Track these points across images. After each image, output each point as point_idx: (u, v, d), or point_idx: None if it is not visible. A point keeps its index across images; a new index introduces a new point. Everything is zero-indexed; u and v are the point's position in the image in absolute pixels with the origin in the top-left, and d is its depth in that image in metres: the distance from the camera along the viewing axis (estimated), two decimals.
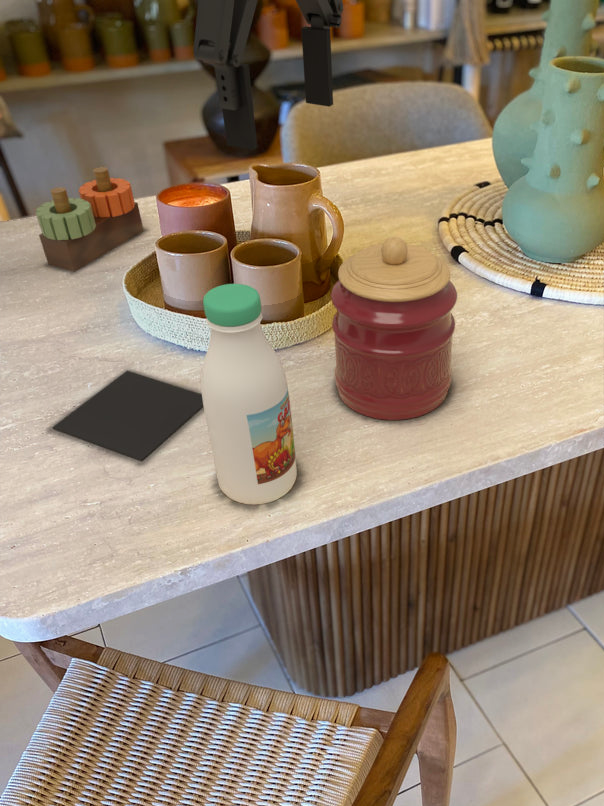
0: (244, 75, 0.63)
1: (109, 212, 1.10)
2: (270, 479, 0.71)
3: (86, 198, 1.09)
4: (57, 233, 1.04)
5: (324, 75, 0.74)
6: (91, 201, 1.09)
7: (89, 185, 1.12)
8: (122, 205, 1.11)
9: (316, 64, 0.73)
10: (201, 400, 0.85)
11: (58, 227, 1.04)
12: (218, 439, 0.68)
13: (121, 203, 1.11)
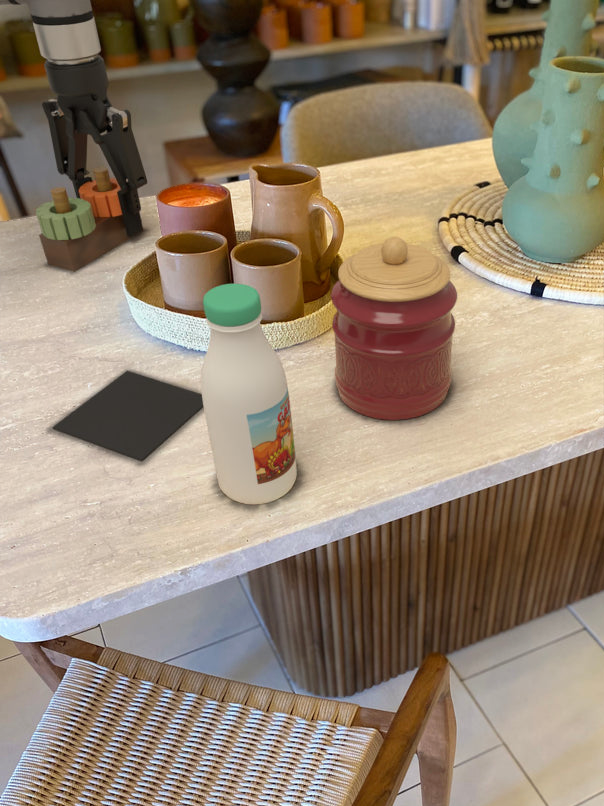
0: None
1: (109, 212, 1.10)
2: (270, 479, 0.71)
3: (86, 198, 1.09)
4: (57, 233, 1.04)
5: None
6: (91, 201, 1.09)
7: (89, 185, 1.12)
8: None
9: None
10: (201, 400, 0.85)
11: (58, 227, 1.04)
12: (218, 439, 0.68)
13: None
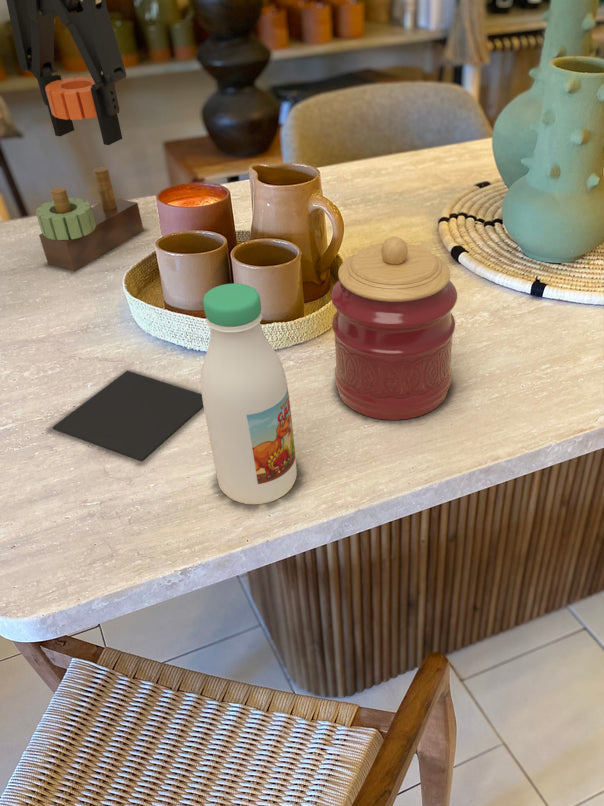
0: None
1: (82, 113, 0.94)
2: (270, 479, 0.71)
3: (54, 96, 0.92)
4: (57, 233, 1.04)
5: None
6: (59, 99, 0.92)
7: (58, 83, 0.95)
8: None
9: None
10: (201, 400, 0.85)
11: (58, 227, 1.04)
12: (218, 439, 0.68)
13: None
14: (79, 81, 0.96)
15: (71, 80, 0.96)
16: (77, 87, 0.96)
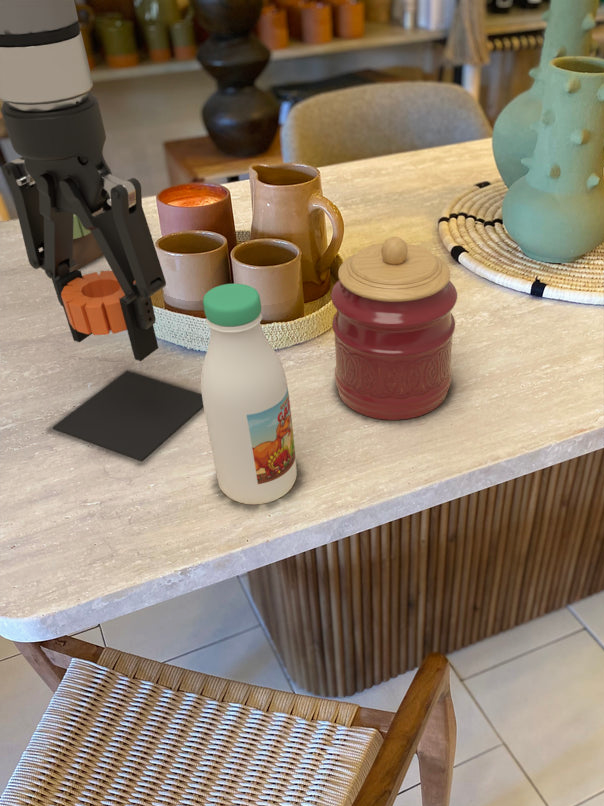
0: None
1: (108, 327, 0.72)
2: (270, 479, 0.71)
3: (72, 308, 0.71)
4: None
5: None
6: (80, 312, 0.71)
7: (77, 284, 0.74)
8: None
9: None
10: (201, 400, 0.85)
11: None
12: (218, 439, 0.68)
13: None
14: (105, 280, 0.75)
15: (95, 278, 0.75)
16: (102, 286, 0.75)
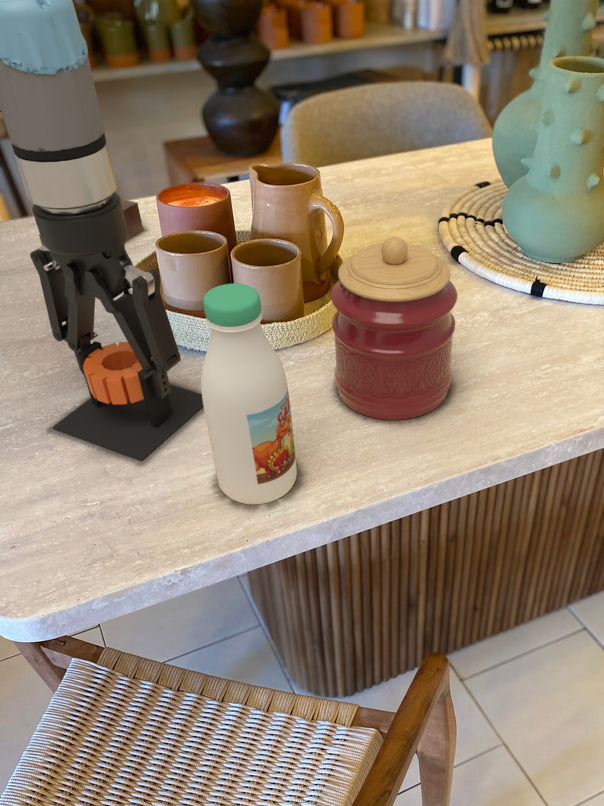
0: None
1: (126, 397, 0.78)
2: (270, 479, 0.71)
3: (94, 380, 0.77)
4: None
5: None
6: (100, 385, 0.77)
7: (98, 356, 0.79)
8: None
9: None
10: (201, 400, 0.85)
11: None
12: (218, 439, 0.68)
13: None
14: (123, 351, 0.80)
15: (114, 350, 0.80)
16: (120, 357, 0.81)
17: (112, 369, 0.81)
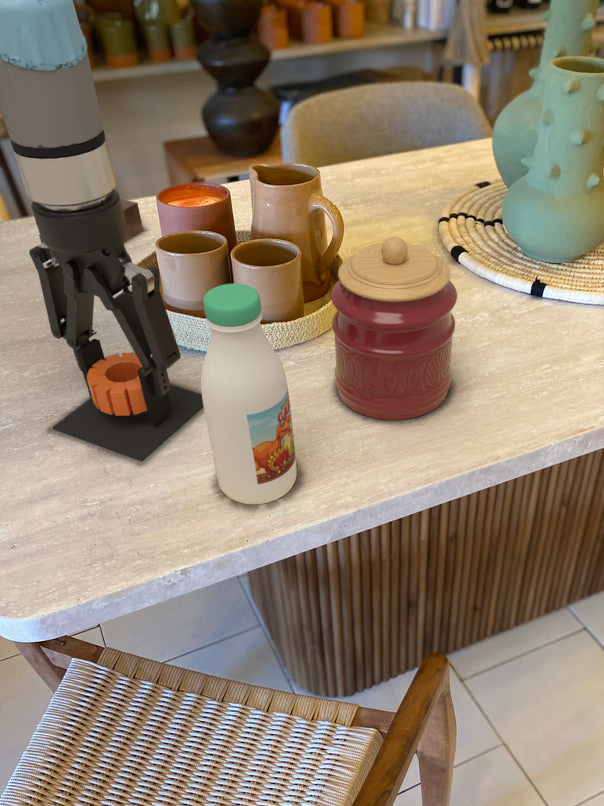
0: None
1: (129, 409, 0.79)
2: (270, 479, 0.71)
3: (97, 392, 0.78)
4: None
5: None
6: (104, 396, 0.78)
7: (101, 367, 0.80)
8: None
9: None
10: (201, 400, 0.85)
11: None
12: (218, 439, 0.68)
13: None
14: (126, 362, 0.81)
15: (117, 361, 0.81)
16: (124, 368, 0.81)
17: (115, 379, 0.82)
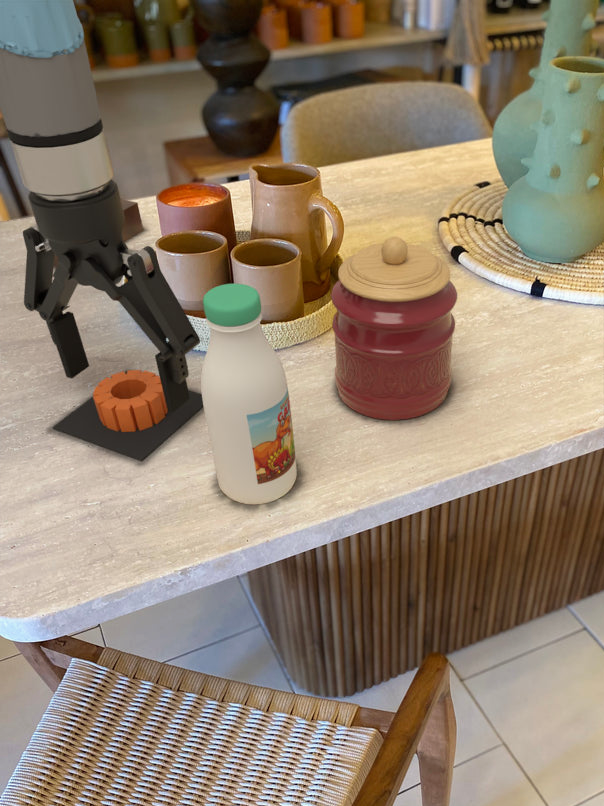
0: None
1: (135, 425, 0.80)
2: (270, 479, 0.71)
3: (103, 409, 0.79)
4: None
5: (79, 346, 0.82)
6: (110, 413, 0.79)
7: (107, 385, 0.82)
8: (152, 415, 0.81)
9: (72, 343, 0.81)
10: (201, 400, 0.85)
11: None
12: (218, 439, 0.68)
13: (151, 412, 0.81)
14: (132, 380, 0.82)
15: (122, 378, 0.82)
16: (129, 385, 0.83)
17: (121, 397, 0.83)
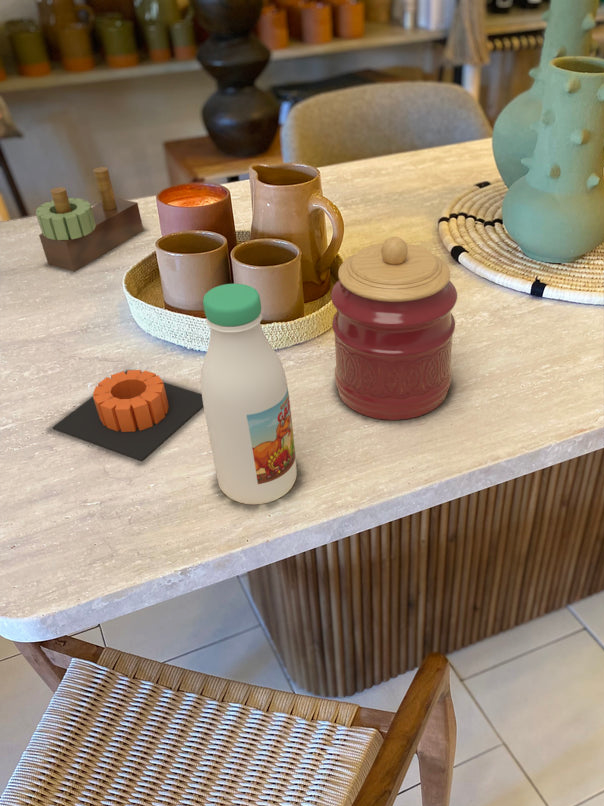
0: None
1: (135, 425, 0.80)
2: (270, 479, 0.71)
3: (103, 409, 0.79)
4: (57, 233, 1.04)
5: None
6: (110, 413, 0.79)
7: (107, 385, 0.82)
8: (152, 415, 0.81)
9: None
10: (201, 400, 0.85)
11: (58, 227, 1.04)
12: (218, 439, 0.68)
13: (151, 412, 0.81)
14: (132, 380, 0.82)
15: (122, 378, 0.82)
16: (129, 385, 0.83)
17: (121, 397, 0.83)
